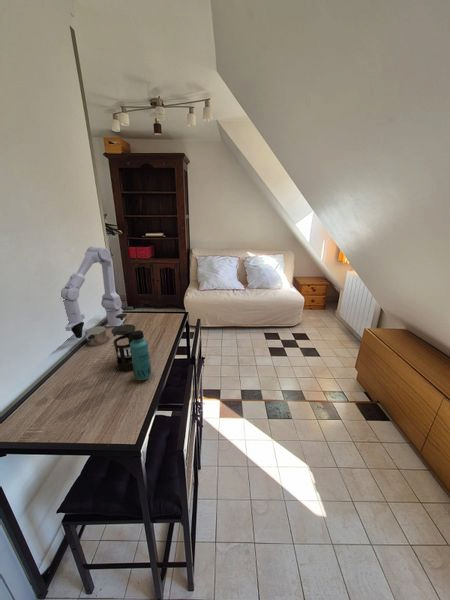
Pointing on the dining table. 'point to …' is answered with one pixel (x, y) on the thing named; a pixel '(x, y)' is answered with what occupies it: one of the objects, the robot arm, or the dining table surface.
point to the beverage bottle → (140, 356)
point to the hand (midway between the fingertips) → (79, 337)
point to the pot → (96, 335)
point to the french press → (124, 350)
